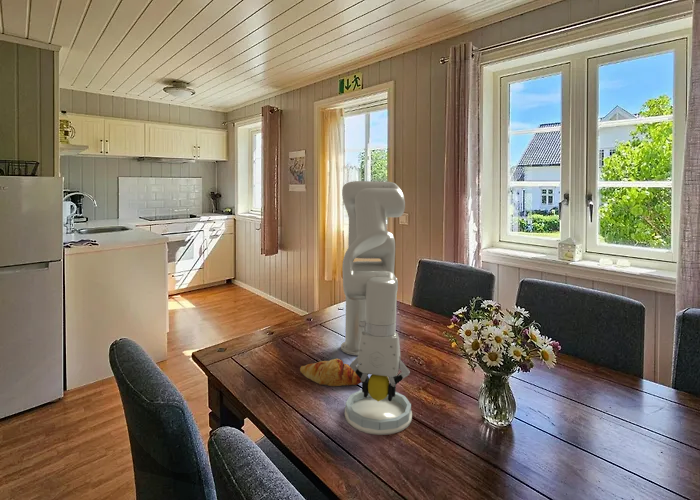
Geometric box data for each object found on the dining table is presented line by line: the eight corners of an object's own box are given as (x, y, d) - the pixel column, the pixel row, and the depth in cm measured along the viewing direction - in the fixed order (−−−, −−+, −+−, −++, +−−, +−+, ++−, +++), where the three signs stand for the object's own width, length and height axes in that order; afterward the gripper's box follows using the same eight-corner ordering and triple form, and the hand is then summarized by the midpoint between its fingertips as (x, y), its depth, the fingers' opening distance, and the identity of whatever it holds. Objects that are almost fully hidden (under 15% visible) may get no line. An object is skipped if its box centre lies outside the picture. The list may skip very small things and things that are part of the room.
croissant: (296, 389, 123) (290, 372, 119) (308, 362, 131) (302, 345, 126) (363, 399, 117) (359, 382, 112) (371, 371, 124) (368, 353, 120)
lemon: (388, 408, 100) (389, 377, 99) (365, 405, 101) (366, 374, 100) (390, 396, 105) (391, 367, 104) (369, 394, 106) (369, 365, 105)
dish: (355, 393, 114) (355, 383, 114) (416, 403, 109) (416, 392, 109) (335, 427, 98) (335, 415, 97) (406, 440, 93) (406, 428, 93)
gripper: (342, 329, 99) (341, 398, 102) (413, 337, 94) (410, 409, 97) (351, 319, 106) (350, 384, 109) (417, 326, 101) (414, 394, 104)
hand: (378, 396), depth 103 cm, fingers closed on lemon, 5 cm apart
